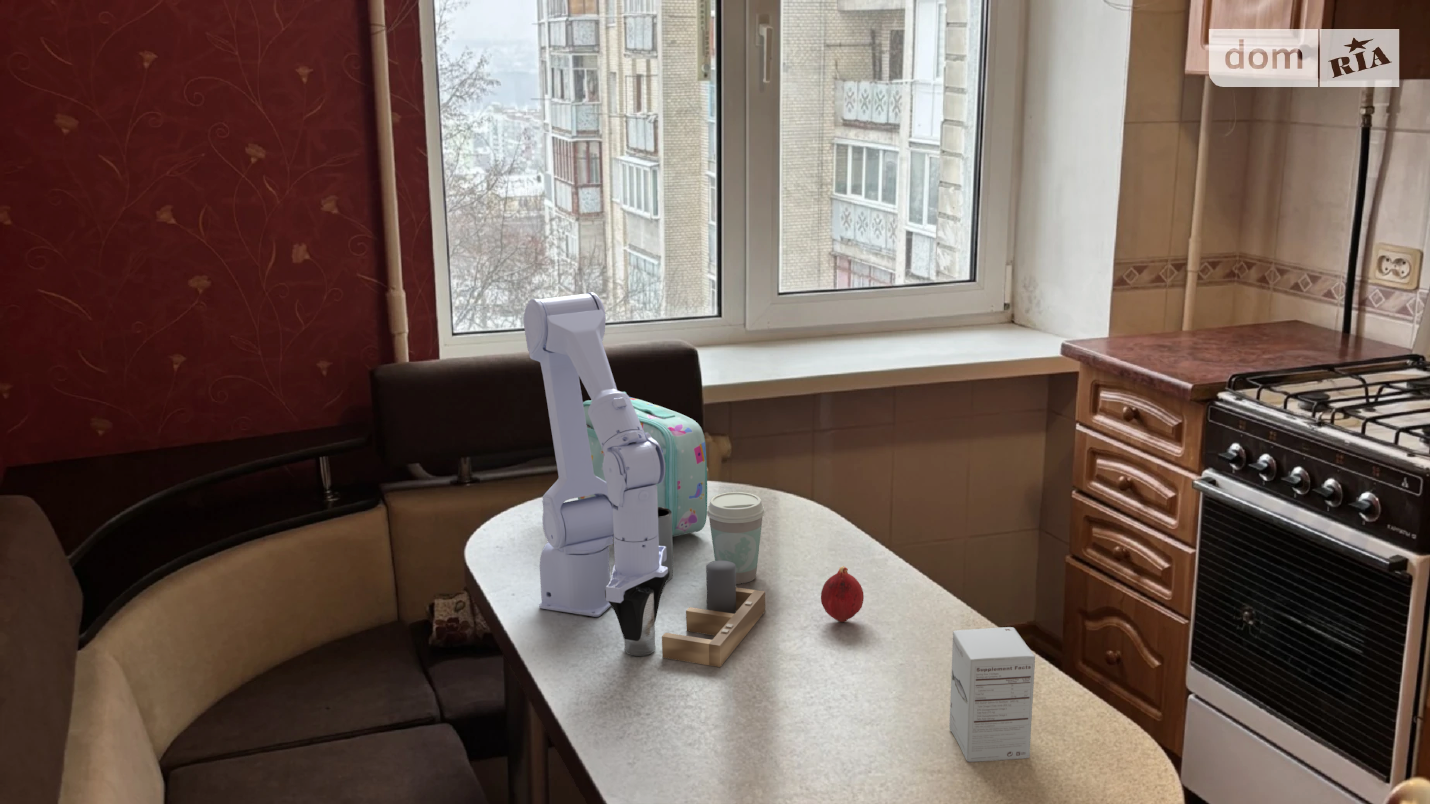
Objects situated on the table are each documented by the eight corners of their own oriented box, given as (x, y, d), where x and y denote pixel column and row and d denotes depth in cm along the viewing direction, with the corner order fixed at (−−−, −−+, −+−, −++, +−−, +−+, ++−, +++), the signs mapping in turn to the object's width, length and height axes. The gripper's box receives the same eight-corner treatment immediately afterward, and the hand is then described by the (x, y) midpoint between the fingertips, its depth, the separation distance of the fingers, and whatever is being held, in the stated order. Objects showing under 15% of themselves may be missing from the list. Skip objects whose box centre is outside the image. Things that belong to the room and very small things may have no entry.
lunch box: (564, 512, 217) (558, 391, 211) (612, 497, 223) (607, 379, 218) (666, 554, 198) (662, 422, 192) (715, 537, 204) (712, 409, 199)
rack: (662, 657, 164) (661, 635, 163) (711, 603, 180) (711, 582, 179) (720, 667, 161) (719, 644, 160) (765, 611, 177) (765, 590, 176)
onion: (861, 632, 170) (862, 577, 168) (818, 629, 171) (818, 574, 169) (865, 614, 175) (865, 560, 173) (823, 611, 177) (823, 558, 174)
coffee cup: (699, 583, 187) (697, 506, 183) (720, 561, 194) (719, 487, 191) (753, 591, 183) (752, 513, 180) (773, 569, 191) (772, 494, 188)
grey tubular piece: (677, 572, 190) (676, 508, 188) (666, 584, 186) (665, 518, 184) (649, 569, 192) (647, 505, 189) (638, 580, 188) (636, 515, 185)
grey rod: (619, 652, 165) (617, 596, 163) (632, 639, 168) (630, 584, 166) (647, 657, 163) (645, 600, 161) (660, 644, 167) (658, 588, 165)
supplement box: (947, 729, 146) (951, 628, 142) (1010, 725, 146) (1015, 625, 143) (965, 764, 139) (969, 658, 135) (1031, 759, 139) (1037, 655, 136)
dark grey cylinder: (702, 623, 173) (701, 569, 171) (713, 612, 177) (712, 558, 175) (730, 628, 172) (729, 573, 170) (740, 616, 175) (739, 562, 173)
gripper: (641, 558, 154) (644, 660, 157) (686, 518, 167) (688, 612, 170) (588, 551, 156) (593, 651, 160) (637, 511, 169) (640, 605, 173)
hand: (639, 631), depth 165 cm, fingers closed on grey rod, 4 cm apart
